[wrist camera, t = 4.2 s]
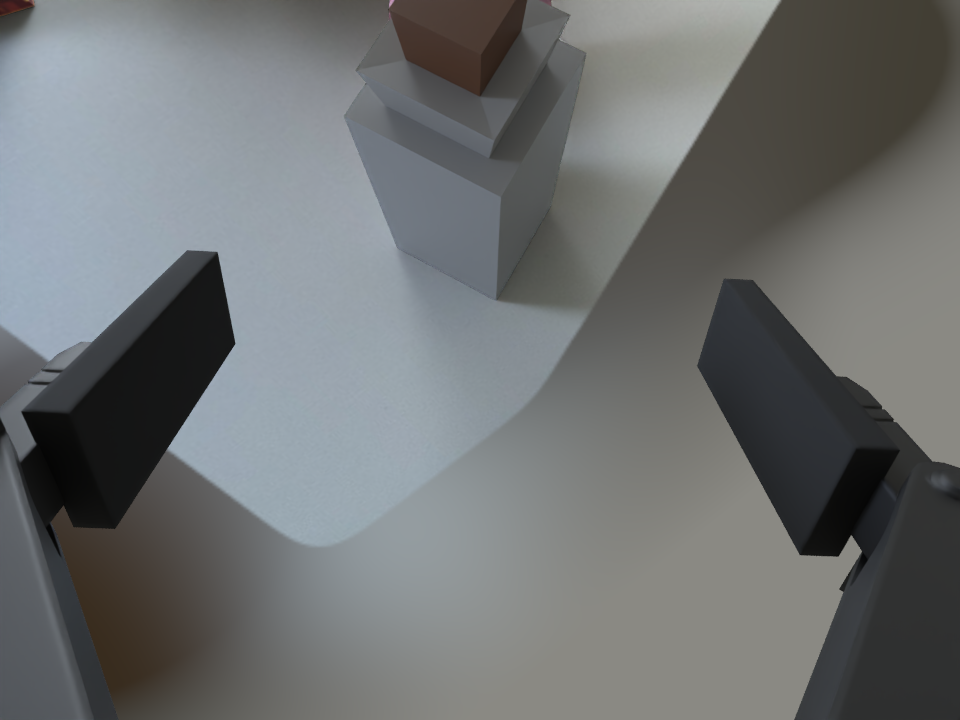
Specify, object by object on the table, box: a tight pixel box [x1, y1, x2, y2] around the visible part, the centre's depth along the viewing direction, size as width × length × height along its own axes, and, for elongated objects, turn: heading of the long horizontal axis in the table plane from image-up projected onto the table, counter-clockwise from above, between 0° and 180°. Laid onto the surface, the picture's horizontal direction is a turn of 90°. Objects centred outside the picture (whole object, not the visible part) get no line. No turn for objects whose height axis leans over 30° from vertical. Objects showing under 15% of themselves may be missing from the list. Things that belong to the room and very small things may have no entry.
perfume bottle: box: [344, 0, 586, 301], centre depth 27 cm, size 7×7×18 cm
